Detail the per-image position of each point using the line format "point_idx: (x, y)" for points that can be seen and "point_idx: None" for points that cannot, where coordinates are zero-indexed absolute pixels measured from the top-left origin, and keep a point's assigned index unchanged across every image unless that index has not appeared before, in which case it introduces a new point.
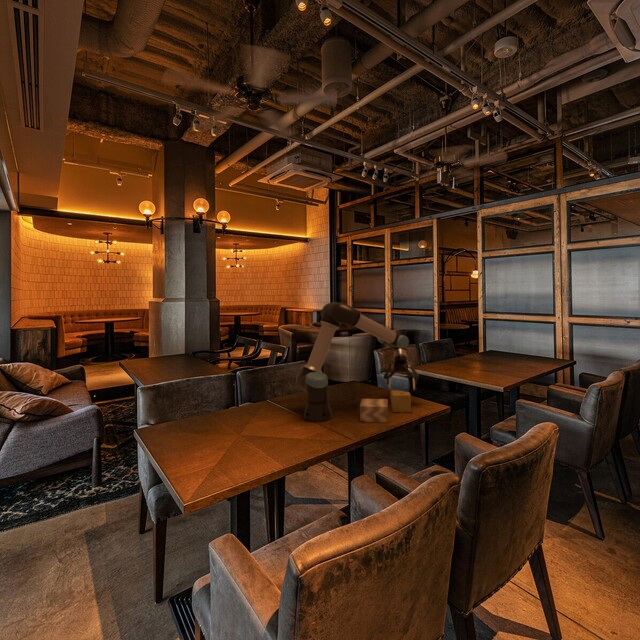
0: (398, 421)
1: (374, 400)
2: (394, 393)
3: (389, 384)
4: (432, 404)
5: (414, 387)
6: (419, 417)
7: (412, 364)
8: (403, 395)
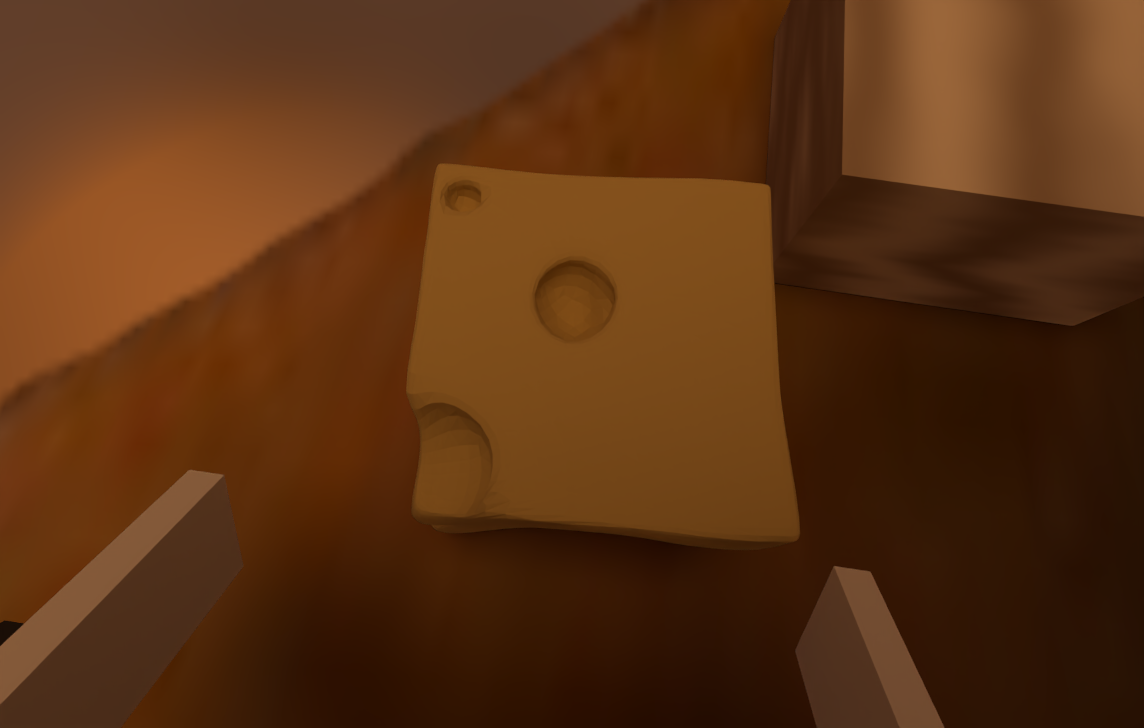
0: (670, 54)
1: (1053, 124)
2: (728, 300)
3: (898, 658)
4: None
5: (195, 474)
6: (432, 139)
7: None
8: (569, 177)
